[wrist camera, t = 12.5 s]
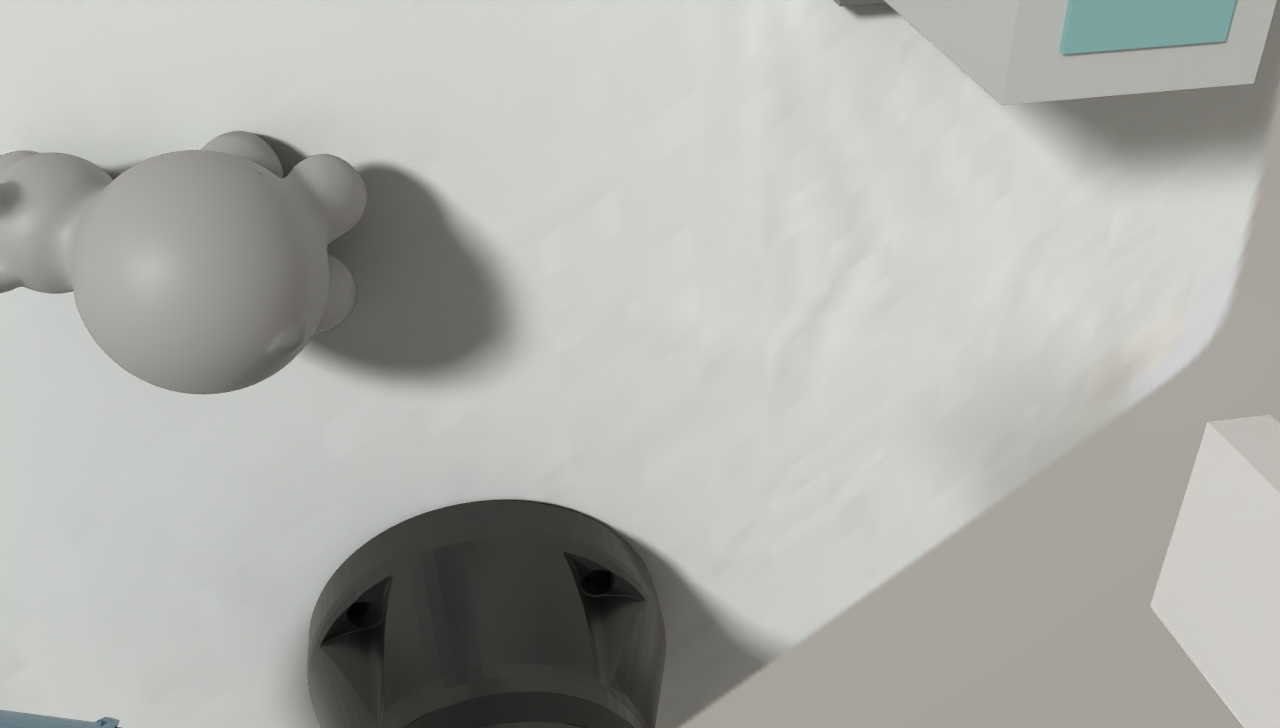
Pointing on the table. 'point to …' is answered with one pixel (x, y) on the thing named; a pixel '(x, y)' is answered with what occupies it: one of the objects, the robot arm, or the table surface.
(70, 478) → the table surface
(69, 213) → the chubby cartoon animal
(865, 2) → the rail plate
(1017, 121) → the table surface
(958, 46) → the mounted module
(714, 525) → the table surface
